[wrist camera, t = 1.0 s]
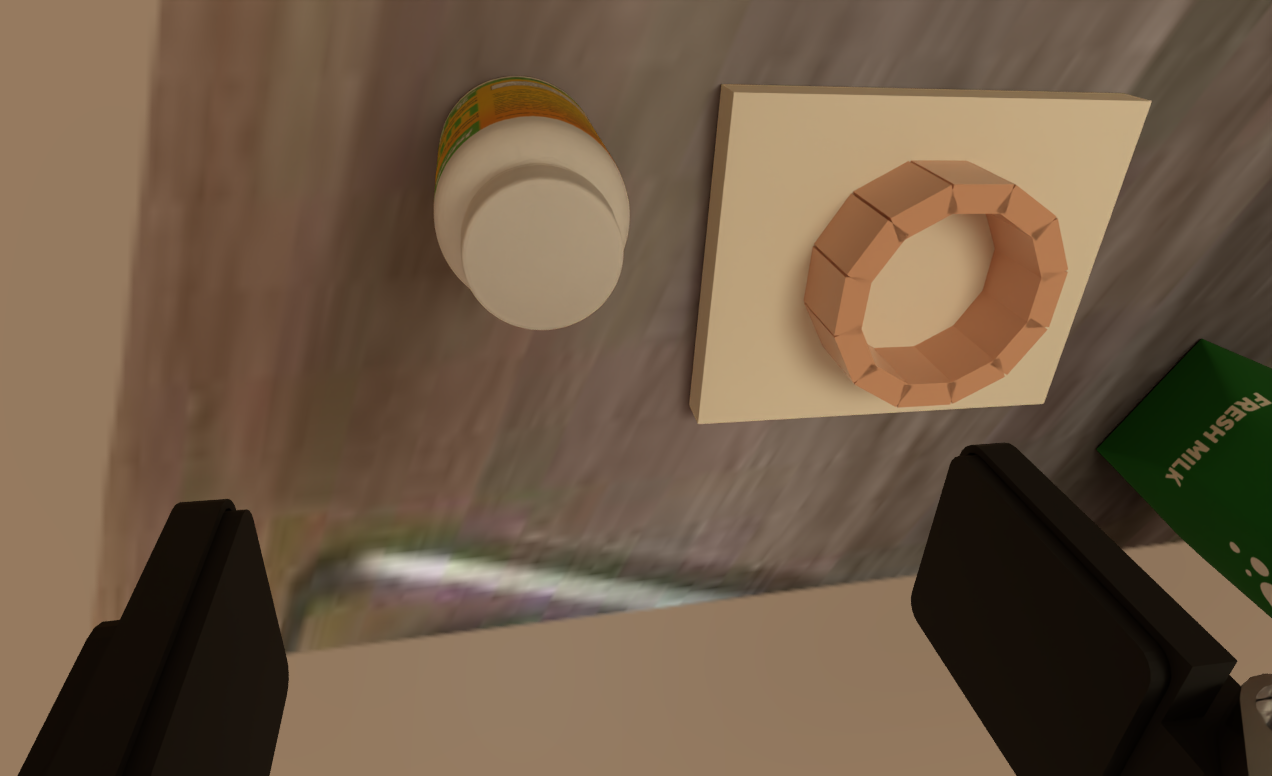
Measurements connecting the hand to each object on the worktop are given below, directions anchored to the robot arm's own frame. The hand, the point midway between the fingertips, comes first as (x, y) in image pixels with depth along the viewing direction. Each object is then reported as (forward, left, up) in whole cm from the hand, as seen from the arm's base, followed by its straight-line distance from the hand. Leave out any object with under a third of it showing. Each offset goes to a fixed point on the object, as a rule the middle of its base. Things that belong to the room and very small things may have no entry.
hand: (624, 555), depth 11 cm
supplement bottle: (0, 0, -20) cm, 21 cm away
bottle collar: (+4, +15, -19) cm, 24 cm away
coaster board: (+4, +15, -20) cm, 25 cm away
